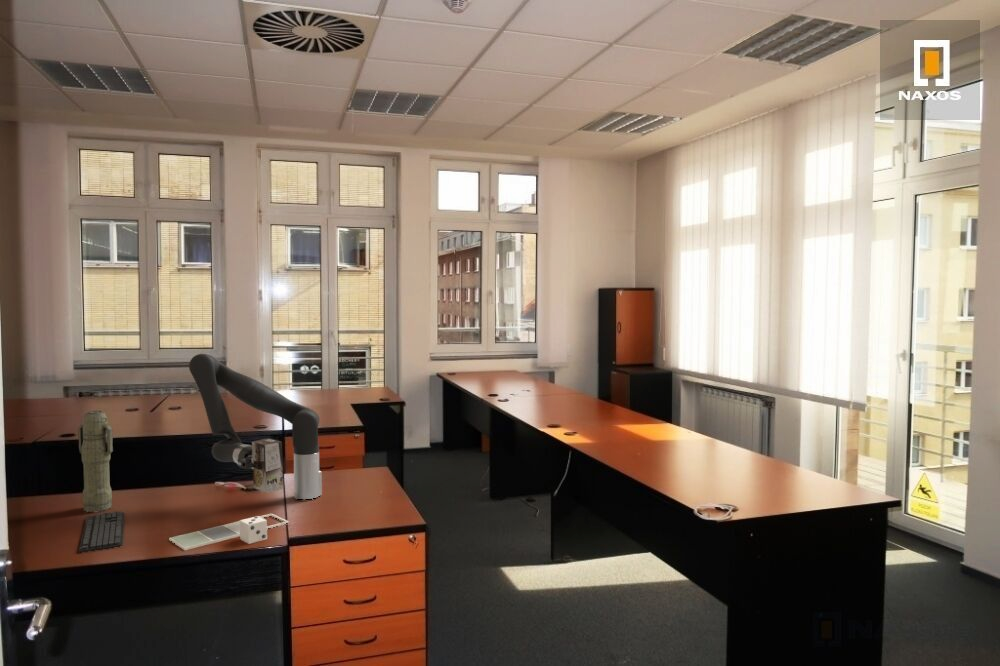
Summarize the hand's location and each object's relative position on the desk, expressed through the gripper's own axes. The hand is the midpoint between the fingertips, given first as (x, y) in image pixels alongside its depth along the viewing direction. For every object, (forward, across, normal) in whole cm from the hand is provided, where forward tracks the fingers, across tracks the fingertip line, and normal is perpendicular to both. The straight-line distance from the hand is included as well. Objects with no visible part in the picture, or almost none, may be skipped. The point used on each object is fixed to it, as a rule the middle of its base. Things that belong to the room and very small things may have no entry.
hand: (270, 464), depth 229 cm
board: (-2, -13, +20) cm, 24 cm away
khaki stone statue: (-59, -36, +20) cm, 72 cm away
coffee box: (-2, 0, +9) cm, 9 cm away
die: (+9, -11, +20) cm, 25 cm away
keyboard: (-31, -42, +20) cm, 56 cm away
